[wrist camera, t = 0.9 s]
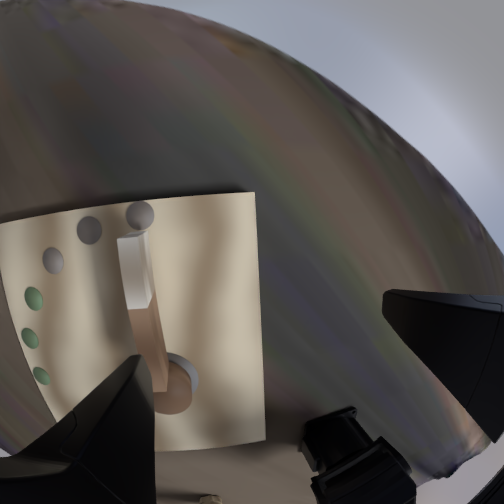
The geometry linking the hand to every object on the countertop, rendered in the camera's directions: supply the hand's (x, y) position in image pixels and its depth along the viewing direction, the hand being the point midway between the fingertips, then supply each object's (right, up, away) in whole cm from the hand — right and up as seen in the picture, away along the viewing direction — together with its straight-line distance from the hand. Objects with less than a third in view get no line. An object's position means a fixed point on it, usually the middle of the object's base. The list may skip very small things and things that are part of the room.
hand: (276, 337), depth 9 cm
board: (-11, -6, +11) cm, 17 cm away
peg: (-8, -3, +10) cm, 13 cm away
